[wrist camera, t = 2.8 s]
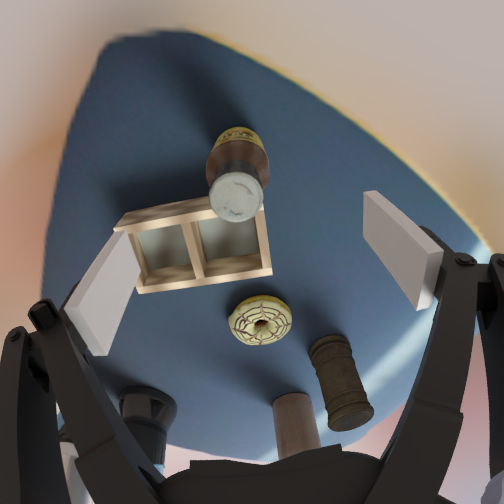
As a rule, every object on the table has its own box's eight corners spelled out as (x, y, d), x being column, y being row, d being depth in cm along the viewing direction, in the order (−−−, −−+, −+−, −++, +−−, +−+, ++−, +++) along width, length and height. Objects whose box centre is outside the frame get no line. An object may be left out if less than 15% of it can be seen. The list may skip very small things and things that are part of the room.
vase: (264, 401, 68) (275, 504, 44) (300, 387, 65) (320, 493, 41) (283, 415, 72) (297, 507, 48) (316, 402, 70) (337, 497, 46)
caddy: (146, 273, 47) (138, 294, 43) (125, 212, 42) (113, 228, 37) (268, 254, 47) (272, 274, 42) (258, 187, 41) (262, 200, 37)
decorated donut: (217, 316, 53) (216, 331, 50) (259, 279, 49) (261, 293, 46) (259, 342, 57) (260, 356, 54) (300, 310, 53) (304, 324, 50)
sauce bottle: (250, 118, 37) (266, 138, 19) (268, 159, 39) (298, 216, 22) (205, 137, 37) (181, 177, 20) (225, 178, 40) (220, 248, 23)
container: (317, 332, 56) (340, 410, 41) (356, 335, 58) (385, 406, 42) (302, 362, 61) (318, 434, 45) (339, 363, 62) (361, 430, 46)
